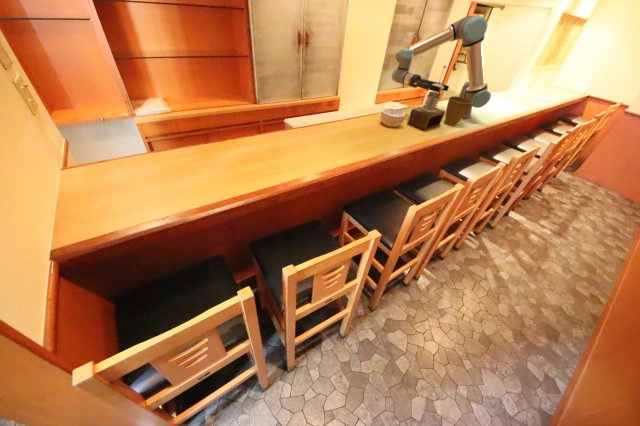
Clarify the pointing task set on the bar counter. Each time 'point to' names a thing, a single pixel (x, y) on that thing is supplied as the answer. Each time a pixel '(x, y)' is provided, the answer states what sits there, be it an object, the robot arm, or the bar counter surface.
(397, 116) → the paper bowls
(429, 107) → the french press
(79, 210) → the bar counter surface
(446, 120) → the plant pot
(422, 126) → the shelf
